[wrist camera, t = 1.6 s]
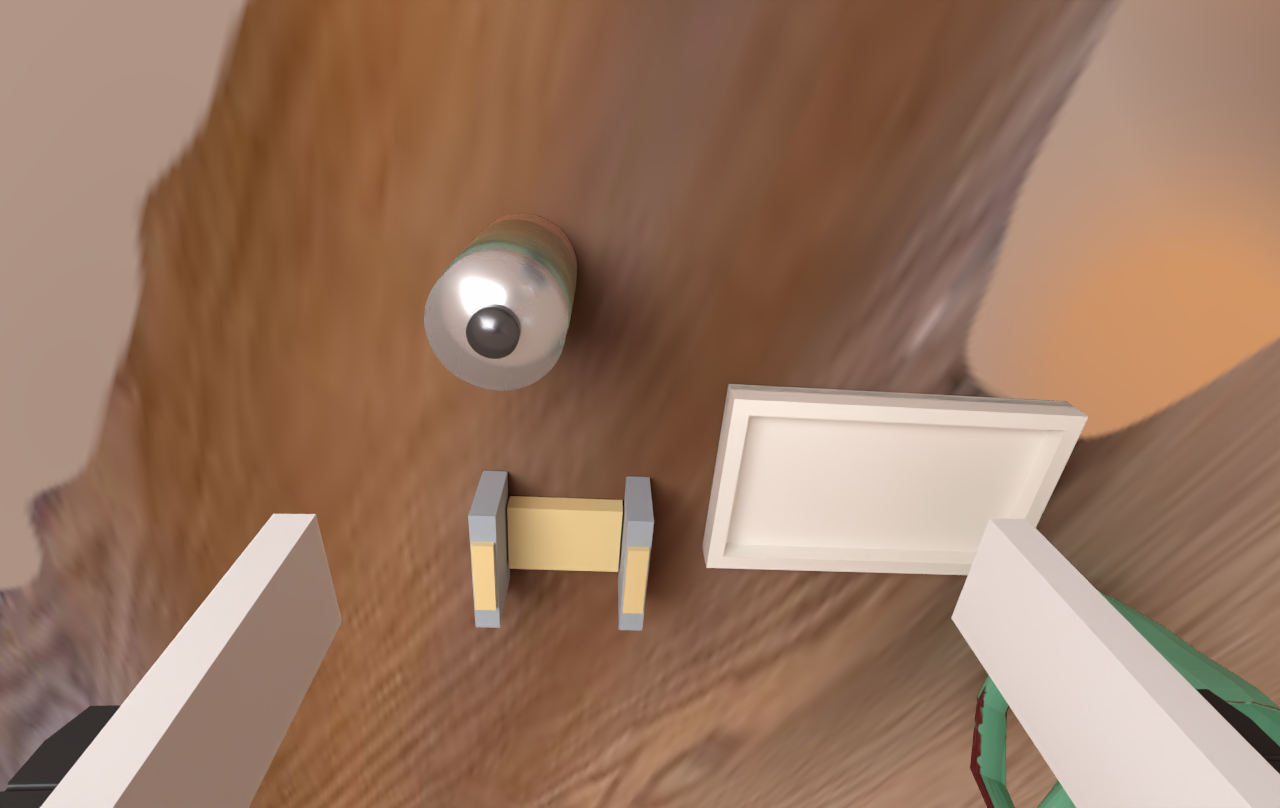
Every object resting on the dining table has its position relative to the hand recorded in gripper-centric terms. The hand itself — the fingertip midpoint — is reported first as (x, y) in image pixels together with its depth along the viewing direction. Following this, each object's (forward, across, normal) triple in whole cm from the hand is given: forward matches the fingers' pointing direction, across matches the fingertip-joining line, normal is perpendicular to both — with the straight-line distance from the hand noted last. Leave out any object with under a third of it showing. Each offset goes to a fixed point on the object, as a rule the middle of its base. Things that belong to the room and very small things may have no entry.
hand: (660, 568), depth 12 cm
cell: (+16, -5, +2) cm, 17 cm away
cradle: (+16, -3, -12) cm, 21 cm away
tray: (+16, +13, -9) cm, 23 cm away
